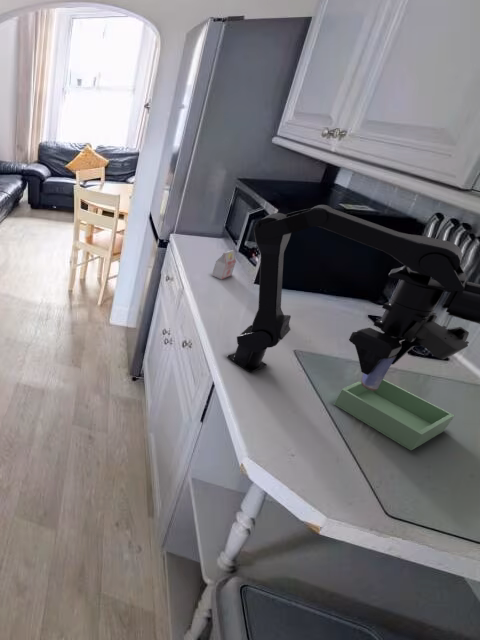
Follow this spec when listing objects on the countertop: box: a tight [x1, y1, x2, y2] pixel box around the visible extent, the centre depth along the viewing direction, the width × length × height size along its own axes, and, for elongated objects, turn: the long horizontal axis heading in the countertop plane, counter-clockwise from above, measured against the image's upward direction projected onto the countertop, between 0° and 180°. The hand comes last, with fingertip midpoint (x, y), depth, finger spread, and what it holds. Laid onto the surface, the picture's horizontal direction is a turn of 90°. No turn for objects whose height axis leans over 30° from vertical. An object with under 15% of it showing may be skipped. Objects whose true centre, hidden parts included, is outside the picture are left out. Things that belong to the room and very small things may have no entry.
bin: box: [333, 378, 456, 451], centre depth 85 cm, size 13×13×4 cm
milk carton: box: [211, 249, 237, 280], centre depth 147 cm, size 4×7×10 cm, turn 120°
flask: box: [360, 342, 402, 391], centre depth 81 cm, size 9×3×11 cm, turn 128°
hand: (377, 368), depth 82 cm, fingers closed on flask, 9 cm apart
